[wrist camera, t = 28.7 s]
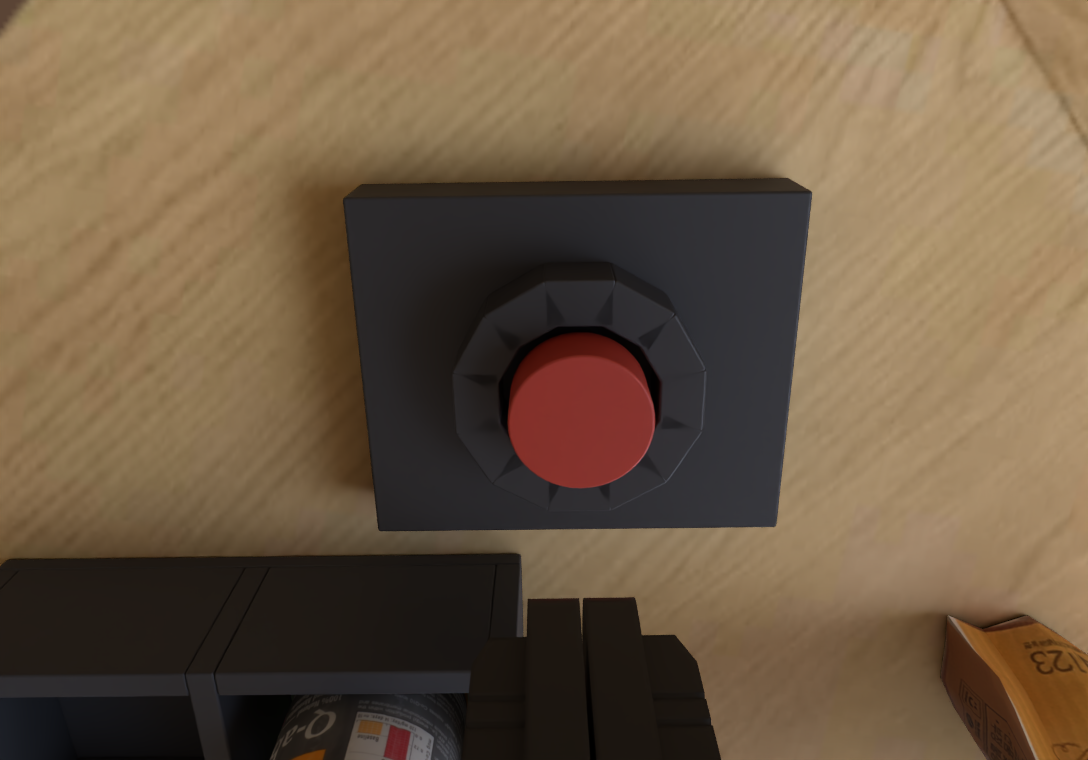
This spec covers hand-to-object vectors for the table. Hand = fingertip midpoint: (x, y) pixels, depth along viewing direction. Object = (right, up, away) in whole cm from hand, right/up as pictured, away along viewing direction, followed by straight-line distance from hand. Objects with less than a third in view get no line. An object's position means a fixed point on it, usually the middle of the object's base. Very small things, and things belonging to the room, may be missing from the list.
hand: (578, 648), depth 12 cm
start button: (0, +3, +10) cm, 11 cm away
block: (0, +5, +13) cm, 14 cm away
